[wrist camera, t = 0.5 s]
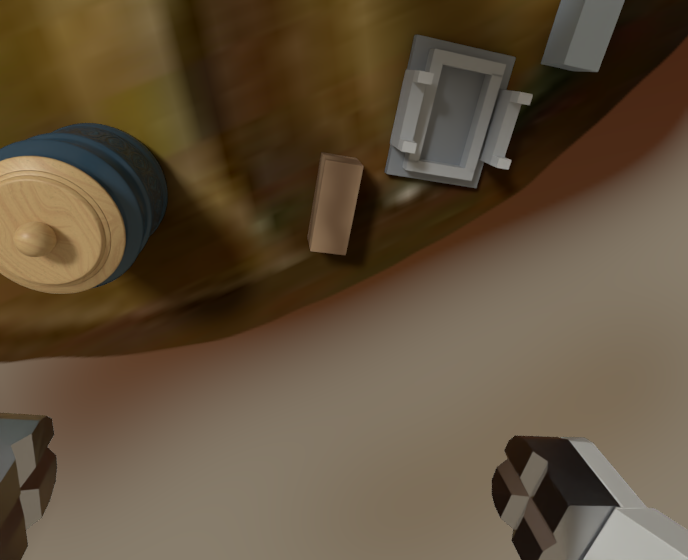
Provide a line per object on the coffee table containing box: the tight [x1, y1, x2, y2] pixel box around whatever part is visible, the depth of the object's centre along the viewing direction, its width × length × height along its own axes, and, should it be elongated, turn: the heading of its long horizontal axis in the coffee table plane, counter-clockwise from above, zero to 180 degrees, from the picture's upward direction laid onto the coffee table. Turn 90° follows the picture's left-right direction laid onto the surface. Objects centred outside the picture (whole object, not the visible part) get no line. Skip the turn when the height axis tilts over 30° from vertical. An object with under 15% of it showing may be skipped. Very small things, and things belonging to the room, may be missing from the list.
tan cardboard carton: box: [307, 152, 364, 255], centre depth 51 cm, size 4×10×4 cm, turn 169°
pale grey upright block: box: [541, 0, 625, 72], centre depth 46 cm, size 8×4×4 cm, turn 170°
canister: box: [0, 123, 168, 294], centre depth 40 cm, size 13×13×18 cm
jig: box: [385, 35, 533, 188], centre depth 48 cm, size 14×12×6 cm
